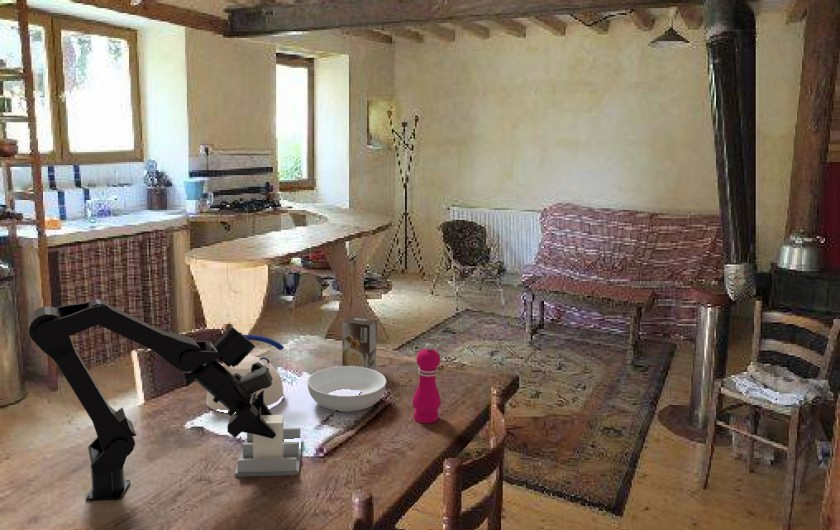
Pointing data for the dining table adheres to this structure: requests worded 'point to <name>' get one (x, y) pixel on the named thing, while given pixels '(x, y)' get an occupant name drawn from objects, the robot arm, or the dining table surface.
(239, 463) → the plate rack
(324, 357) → the dining table surface
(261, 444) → the cream upright block
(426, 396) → the pepper mill
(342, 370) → the serving bowl
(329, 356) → the dining table surface
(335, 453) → the dining table surface
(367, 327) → the coffee box
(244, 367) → the kettle
